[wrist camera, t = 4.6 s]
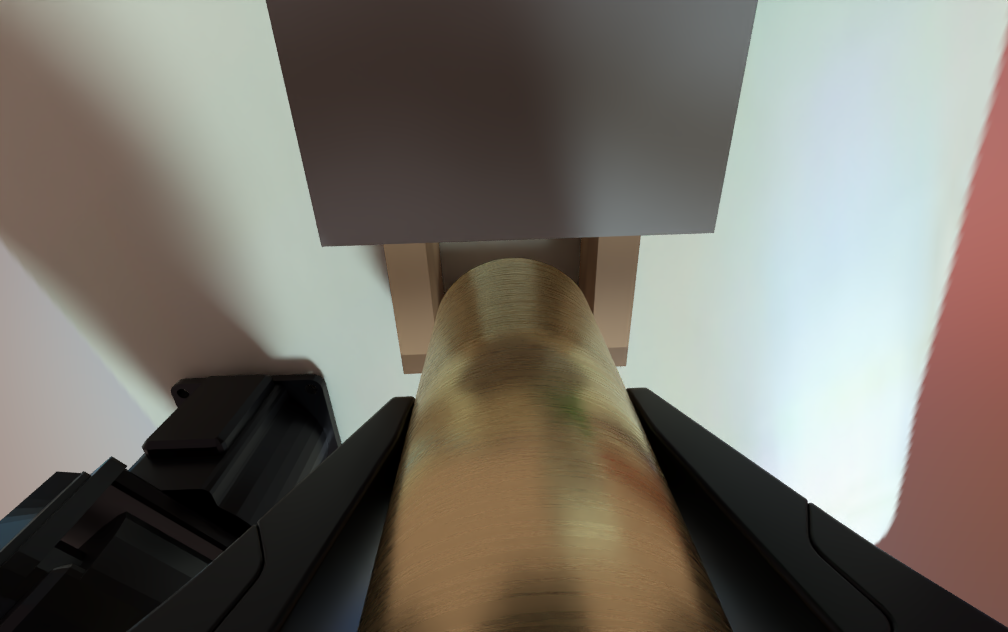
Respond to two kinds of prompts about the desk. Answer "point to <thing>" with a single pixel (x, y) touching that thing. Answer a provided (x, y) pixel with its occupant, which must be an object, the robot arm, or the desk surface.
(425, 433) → the peg
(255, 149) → the desk surface
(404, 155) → the socket block
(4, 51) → the desk surface
